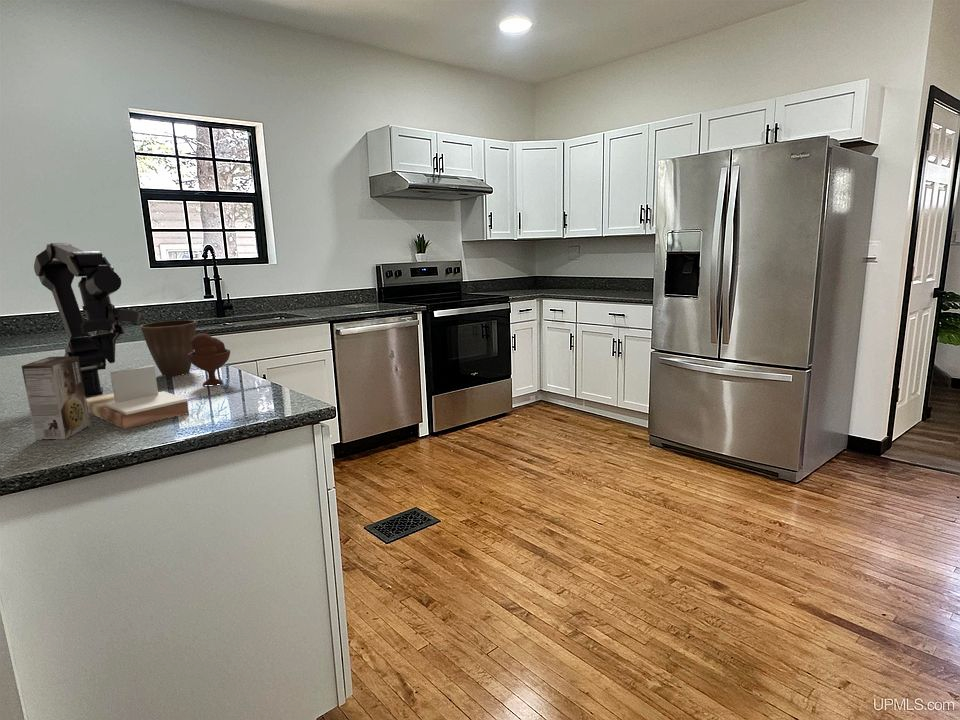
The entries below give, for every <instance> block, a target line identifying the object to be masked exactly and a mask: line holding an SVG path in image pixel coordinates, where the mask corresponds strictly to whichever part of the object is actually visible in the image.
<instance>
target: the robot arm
mask: <svg viewBox="0 0 960 720" xmlns="http://www.w3.org/2000/svg"><path fill="white" fill-rule="evenodd" d="M114 269H115V267H114V266H113V265H112V264H111V263H110V262H109V260H107V258H106V256H105V255H103V253H102V252H101V251H99V250H95V251H94V250H93V251H92V250H91V251H90V250H89V251H84V250H81V249H80V248H77V247H75V246H73V245H72V244H71V243H67V242H50V243H47V244H46V248H45V249H44V250H43V251H41V252H40V253H38V254H37V255H36V256H35V258H34V264H33V270H34V273H35V276H36V277H38V278H39V281H40V283H41V285H42V286H44V287H45V288H46V289H47V290H49V291H50V292H51V293H52V296H53V299H54V301H55V305H56V307H57V310H58V313H59V316H60V319H61V321H62V324H63V327H64V331H65V333H66V336H67V339H68V340H67V344H66V346H65V349H64V356H67V357H76V356H78V358H79V363H80V368H81V374H82V380H83V385H84V390H85V396H92V395H97V394H103V393H104V386H101V380H100V375H99V370H100V371H101V370H106V366H107V363H108V364H115V363H116V343H117V341H118V340H119V338H121V337H122V336H125V335H126V332H125V329H124V327H123V326H121V325H120V323H122V324H128V325H129V324H130V325H133V326H140V322H141V319H142V318H141V316H142V312H140V311H137V310H136V309H132V308H129V307H128V308H127V309H124V308H116V307H115V305H114V304H113V303H112V302H111V297H110V296H111V295H112V294H113V293H116V292H117V291H118V290H119V289H120V288H121V286H122V279H121V277H120V275H118V274H117V272H115V270H114ZM75 277H76V278H77V277H81V278H80V280H79V282H78V284H77V287H78V288H79V292H80V297H81V299H82V304H83V305H81V307H82V308H81V309H82V311H83V312H85V315H86V319H87V320H84V319H83V316H82V312H81V309H80V307H79V304H78V301H77V298H76V295H75V292H74V290H73V287H72V284H73V282H74V278H75ZM90 333H93V335H92V334H90Z"/></svg>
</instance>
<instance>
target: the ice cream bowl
mask: <svg viewBox="0 0 960 720" xmlns="http://www.w3.org/2000/svg"><path fill="white" fill-rule="evenodd" d="M191 347H192V348H193V349H194V351H193V352H191V353H189V354H187V355H188V358H189V360H190V362H191V365H193V366H194V367H195V368H198V369H199V370H201V371H206V372H207V374H208V379H207V380H205V381H204V382H202V384H201V385H217V384H221V383H222V382H223V380H220V379H218V378H217V377H216V370H218V369H220V368H222V367H223V366H224V365H225V364H226V363H227V362H228V361H229V358H230V356H231V349H227V348H226V347H225V343H224V342H223V341H222V340H220V339H219V338H217V337H212V336H211V334H208V333H198V334H196V335H195V336H194V337H193V339H192V340H191ZM223 383H224V382H223Z"/></svg>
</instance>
